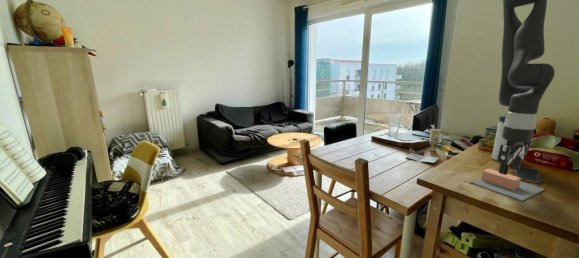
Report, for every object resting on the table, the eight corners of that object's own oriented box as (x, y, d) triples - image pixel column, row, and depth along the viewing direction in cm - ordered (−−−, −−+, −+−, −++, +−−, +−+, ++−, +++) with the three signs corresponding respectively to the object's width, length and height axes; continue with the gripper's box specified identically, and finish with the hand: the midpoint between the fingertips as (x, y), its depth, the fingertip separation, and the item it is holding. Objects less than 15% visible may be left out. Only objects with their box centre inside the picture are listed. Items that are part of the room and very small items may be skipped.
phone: (513, 176, 93) (513, 165, 104) (512, 179, 94) (512, 167, 105) (542, 183, 88) (539, 170, 99) (541, 185, 89) (538, 172, 100)
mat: (493, 174, 98) (493, 173, 98) (544, 190, 85) (544, 189, 85) (469, 182, 91) (470, 181, 90) (522, 201, 78) (522, 200, 78)
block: (515, 180, 83) (482, 170, 91) (513, 190, 84) (481, 179, 92) (521, 177, 85) (489, 168, 93) (519, 187, 86) (487, 177, 94)
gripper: (515, 121, 89) (506, 164, 93) (494, 125, 83) (485, 171, 86) (543, 125, 82) (532, 171, 86) (523, 130, 76) (512, 179, 80)
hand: (509, 171), depth 86 cm, fingers open, 8 cm apart
